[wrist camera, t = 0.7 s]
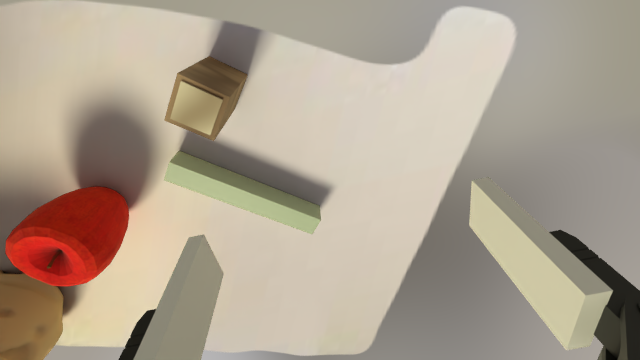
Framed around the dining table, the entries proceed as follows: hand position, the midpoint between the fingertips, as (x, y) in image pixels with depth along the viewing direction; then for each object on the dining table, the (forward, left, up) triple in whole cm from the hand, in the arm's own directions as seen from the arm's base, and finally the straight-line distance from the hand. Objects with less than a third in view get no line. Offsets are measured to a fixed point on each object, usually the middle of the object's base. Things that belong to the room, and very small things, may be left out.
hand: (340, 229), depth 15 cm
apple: (-18, -22, -21) cm, 36 cm away
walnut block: (-10, -2, -21) cm, 24 cm away
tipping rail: (-3, -13, -21) cm, 25 cm away
